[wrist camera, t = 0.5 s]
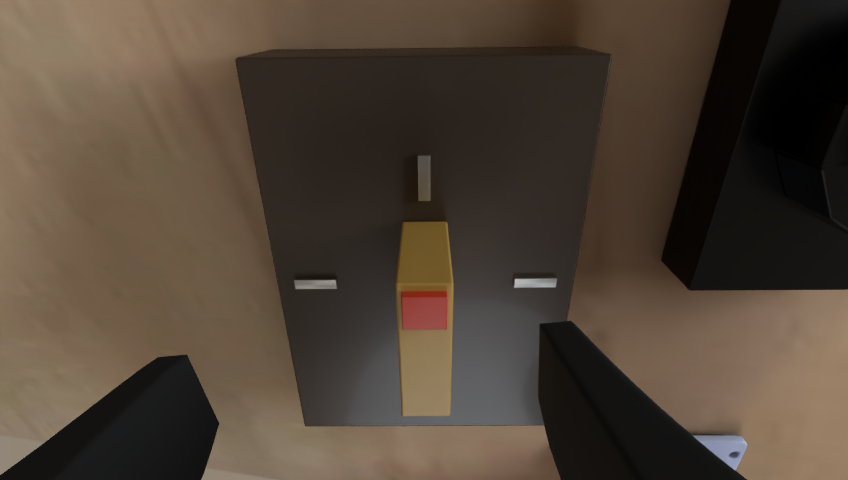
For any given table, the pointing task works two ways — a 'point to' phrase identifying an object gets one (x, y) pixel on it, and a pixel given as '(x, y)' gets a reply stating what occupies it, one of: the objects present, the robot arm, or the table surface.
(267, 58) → the lock plate
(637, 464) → the robot arm
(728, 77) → the block
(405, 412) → the lock knob
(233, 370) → the table surface
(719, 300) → the table surface
